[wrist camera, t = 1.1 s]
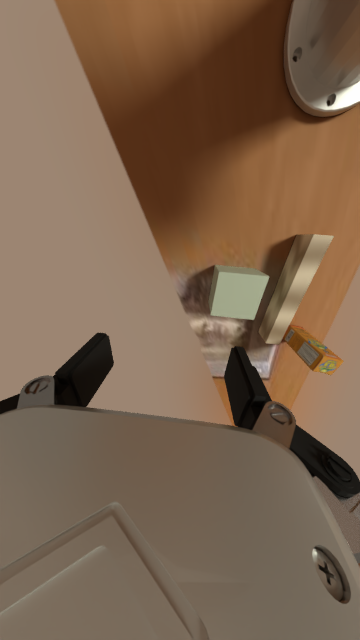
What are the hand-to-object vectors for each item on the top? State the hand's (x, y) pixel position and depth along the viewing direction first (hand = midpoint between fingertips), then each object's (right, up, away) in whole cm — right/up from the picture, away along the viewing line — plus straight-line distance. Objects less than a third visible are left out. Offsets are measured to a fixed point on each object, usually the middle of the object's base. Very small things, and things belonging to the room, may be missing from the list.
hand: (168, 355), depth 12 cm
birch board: (+19, +8, +16) cm, 26 cm away
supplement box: (+24, 0, +20) cm, 31 cm away
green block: (+10, +9, +17) cm, 22 cm away
